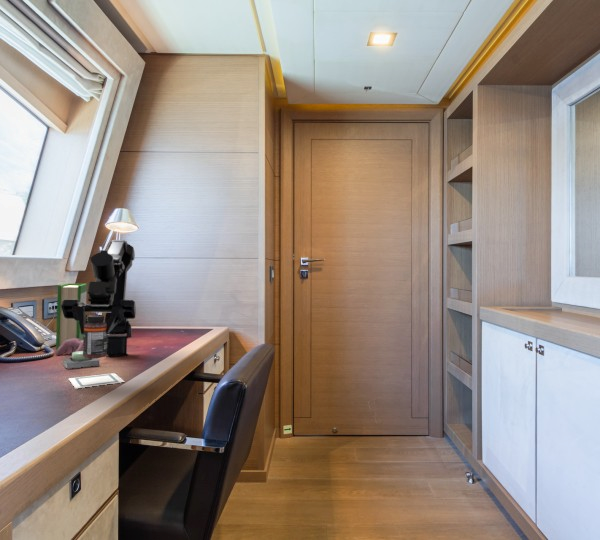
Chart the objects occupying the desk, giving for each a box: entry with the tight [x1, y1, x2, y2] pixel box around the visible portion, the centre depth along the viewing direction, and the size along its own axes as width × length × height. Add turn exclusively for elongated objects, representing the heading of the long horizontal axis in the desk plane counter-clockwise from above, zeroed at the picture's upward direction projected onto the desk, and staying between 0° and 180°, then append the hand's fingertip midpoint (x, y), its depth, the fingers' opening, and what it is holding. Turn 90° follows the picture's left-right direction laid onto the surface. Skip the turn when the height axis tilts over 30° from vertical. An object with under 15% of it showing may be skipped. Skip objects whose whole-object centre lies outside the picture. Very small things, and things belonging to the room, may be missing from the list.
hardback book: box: [55, 283, 88, 352], centre depth 160 cm, size 18×7×24 cm, turn 21°
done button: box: [71, 351, 90, 362], centre depth 132 cm, size 5×5×2 cm
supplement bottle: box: [83, 314, 109, 359], centre depth 114 cm, size 6×6×11 cm
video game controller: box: [55, 338, 83, 356], centre depth 145 cm, size 10×5×7 cm, turn 71°
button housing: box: [62, 356, 100, 370], centre depth 132 cm, size 9×9×2 cm
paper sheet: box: [68, 372, 126, 390], centre depth 114 cm, size 12×11×1 cm
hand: (94, 333), depth 113 cm, fingers closed on supplement bottle, 6 cm apart
